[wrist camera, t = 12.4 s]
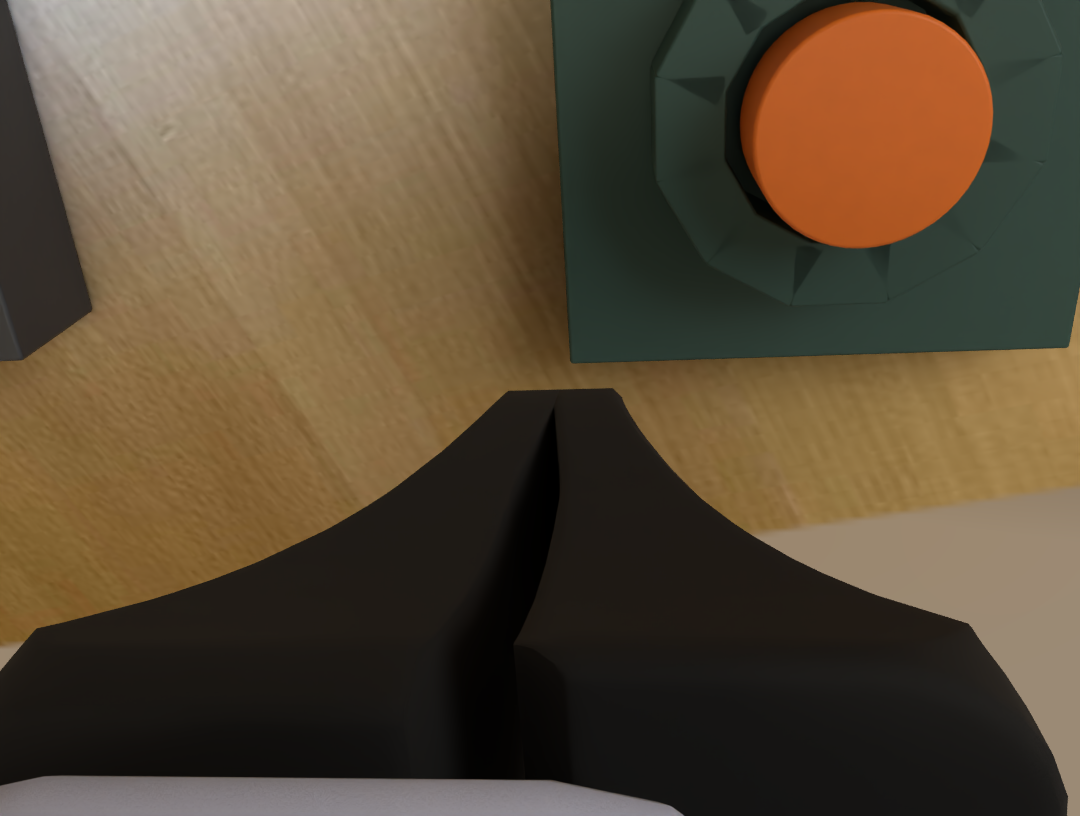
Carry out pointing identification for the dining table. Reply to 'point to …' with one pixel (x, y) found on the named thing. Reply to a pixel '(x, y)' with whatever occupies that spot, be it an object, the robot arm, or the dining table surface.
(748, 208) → the button base
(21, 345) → the dial panel
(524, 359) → the dining table surface
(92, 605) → the dining table surface
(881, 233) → the button
